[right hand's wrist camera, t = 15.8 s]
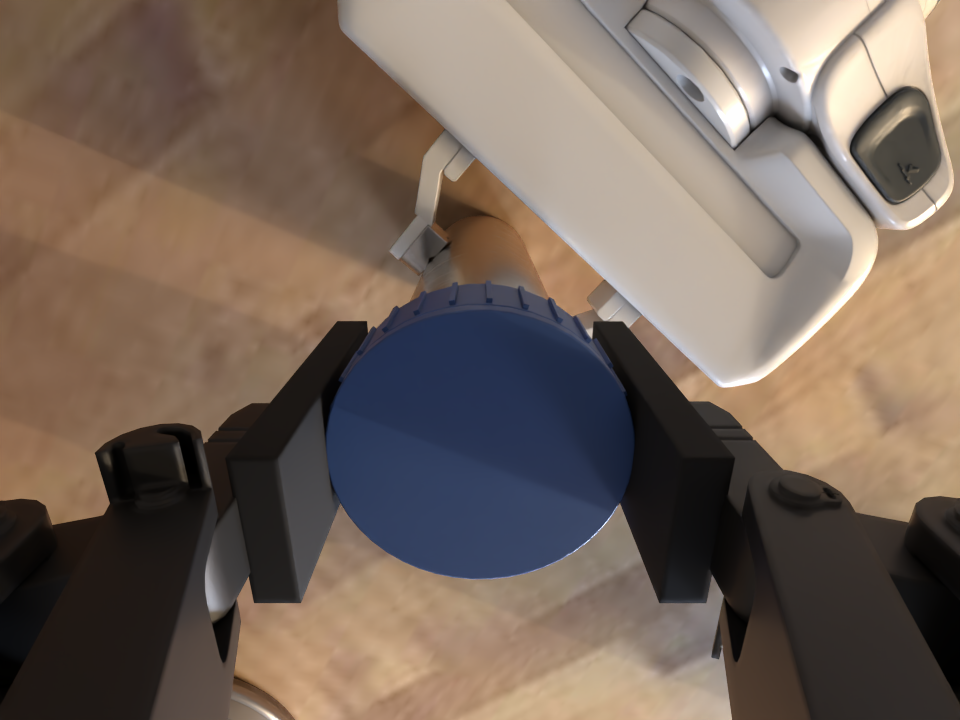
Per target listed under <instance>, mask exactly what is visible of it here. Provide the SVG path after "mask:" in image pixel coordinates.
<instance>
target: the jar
mask: <svg viewBox="0 0 960 720" xmlns="http://www.w3.org/2000/svg"><path fill="white" fill-rule="evenodd" d="M445 232H446V233H447V234H449V235H450V237H449V239H448V243H447V244H446V245H445V246H444V247H443V249H442V250H441V251H440V252H439V253H438V254H437V255H436V256H435V257H431V259H430V262H429V264H428V265H427V267H426V268H425V270H424V272H423V274H422V276H421V278H420V280H419V282H418V285H417V287H416V289H415V291H414V293H413V295H412V298H411V300H410V302H411V301H412V300H414V299H416V298H418V297H419V296H420V293H421V292H423V291H426V293H427V294H428V293H430V292H432V291H436V290H439V289H443V288H447V287H450V286H452V283H454V282H458V285H465V284H486V280H489V281H491V284H495V285H503V286H509V287H513V288H517V289H518V286H519V285H520V286H523V287H524V289H525V291H528V292H530V293H533V294H535V295H538V296H540V297H543V298H544V299H546V300H548V299H549V297H548V295H547V293H546V290H545V288H544V286H543V284H542V282H541V280H540V277H539V275H538V273H537V271H536V269H535V267H534V264H533V262H532V260H531V258H530V256H529V254H528V251H527V249H526V247H525V245H524V243H523V241H522V239H521V237H520V236H519V235H518V233H517V232H516V231H515V230H514V229H513V228H512V227H511V226H510V225H508V224H507V223H505V222H504V221H502V220H500V219H497V218H494V217H490V216H484V215H476V216H470V217H466V218H463V219H461V220H459V221H457V222H455V223H453V224H452V225H451V226H450V227H448V228H447V229H446V230H445Z"/></svg>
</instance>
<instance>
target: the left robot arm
mask: <svg viewBox="0 0 960 720" xmlns="http://www.w3.org/2000/svg"><path fill="white" fill-rule="evenodd" d="M940 1H941V0H337V6H338V21H339V26H340V29H341V30H342V32H343V33H344V34H345V35H347V36H348V37H349V38H350V39H351V40H352V41H353V42H354V43H355V44H356V45H357V46H358V47H359V48H360V49H361V50H362V51H363V52H364V53H365V54H367V55H368V56H369V57H370V58H371V59H372V60H373V61H374V62H375V63H376V64H377V65H378V66H379V67H380V68H381V69H382V70H383V71H385V72H386V73H387V74H388V75H389V76H390V77H391V78H392V79H393V80H394V81H395V82H396V83H397V84H398V85H399V86H400V87H401V88H403V89H404V90H405V91H406V92H407V93H408V94H409V95H410V96H411V97H412V98H413V99H414V100H415V101H416V102H417V103H419V104H420V105H421V106H422V107H423V108H424V109H425V110H426V111H427V112H428V113H429V114H430V115H431V116H432V117H433V118H434V119H435V120H437V121H438V122H439V123H440V124H441V125H442V126H443V127H444V128H445V130H444V131H443V132H442V133H441V135H440V136H439V137H438V138H437V140H436V141H435V142H434V144H433V145H432V146H431V147H430V149H429V150H428V151H427V152H426V154H425V155H424V156H423V162H422V169H421V175H420V182H419V188H418V195H417V201H416V208H415V214H416V215H417V216H416V218H415V219H414V220H413V221H412V222H411V224H410V225H409V226H408V227H407V229H406V230H405V231H404V232H403V233H402V235H401V236H400V237H399V238H398V240H397V241H396V242H395V243H394V244H393V246H392V247H391V248H390V250H389V252H390V253H391V254H392V255H393V256H395V257H396V258H397V259H398V260H400V261H401V262H402V263H403V264H405V265H406V266H407V267H408V268H409V269H411V270H412V271H413V272H414V273H416V274H417V275H418V276H419V275H420V274H421V273H422V272H423V271H424V270H425V268H426V267H427V265H428V264H429V262H430V259H431V257H435V256H436V255H437V254H438V253H439V252H440V251H441V250H442V249H443V247H444V246H445V245H446V244H447V243H448V239H449V237H450V235H449V234H447V233H446V232H445V231H444V230H443V229H442V228H441V227H440V226H439V225H438V224H437V223H436V222H435V219H436V213H437V208H438V202H439V197H440V191H441V186H442V180H443V175H445V176H446V177H447V178H449V179H450V180H451V181H457V179H458V178H459V177H460V176H461V175H462V174H463V172H464V171H465V170H466V169H467V168H468V167H469V165H470V164H471V163H472V162H473V161H474V159H475V158H477V159H478V160H479V161H480V162H481V163H482V164H483V165H484V166H485V167H486V168H487V169H488V170H490V171H491V172H492V173H493V174H494V175H495V176H496V177H497V178H498V179H499V180H500V181H501V182H502V183H503V184H504V185H505V186H506V187H508V188H509V189H510V190H511V191H512V192H513V193H514V194H515V195H516V196H517V197H518V198H519V199H520V200H521V201H522V202H523V203H525V204H526V205H527V206H528V207H529V208H530V209H531V210H532V211H533V212H534V213H535V214H536V215H537V216H538V217H539V218H540V219H541V220H543V221H544V222H545V223H546V224H547V225H548V226H549V227H550V228H551V229H552V230H553V231H554V232H555V233H556V234H557V235H558V236H559V237H561V238H562V239H563V240H564V241H565V242H566V243H567V244H568V245H569V246H570V247H571V248H572V249H573V250H574V251H575V252H576V253H577V254H579V255H580V256H581V257H582V258H583V259H584V260H585V261H586V262H587V263H588V264H589V265H590V266H591V267H592V268H593V269H594V270H595V271H597V272H598V273H599V274H600V275H601V276H602V277H603V278H604V280H603V281H602V283H601V284H600V285H599V286H598V287H597V288H596V289H595V290H594V291H593V292H592V293H591V294H590V295H589V296H588V298H587V301H588V302H589V304H590V305H591V306H592V308H593V310H590V311H587V312H584V313H581V314H578V315H575V316H577V317H578V318H579V319H580V321H581V322H582V324H583V326H584V328H585V329H586V331H587V333H588V334H589V336H590V337H591V338H592V333H593V321H623V322H624V323H625V324H626V326H627V327H628V328H629V327H630V326H631V325H632V324H633V323H634V322H635V321H636V320H637V319H638V318H639V317H640V316H641V315H643V316H644V317H645V318H646V319H647V320H648V321H650V322H651V323H652V324H653V325H654V326H655V327H656V328H657V329H658V330H659V331H660V332H661V333H662V334H663V335H664V336H665V337H666V338H667V339H669V340H670V341H671V342H672V343H673V344H674V345H675V346H676V347H677V348H678V349H679V350H680V351H681V352H682V353H683V354H684V355H686V356H687V357H688V358H689V359H690V360H691V361H692V362H693V363H694V364H695V365H696V366H697V367H698V368H699V369H700V370H701V371H702V372H704V373H705V374H706V375H707V376H708V377H709V378H710V379H711V380H712V381H713V382H714V383H715V384H716V385H718V386H719V387H724V388H725V387H734V386H740V385H745V384H750V383H754V382H756V381H759V380H760V379H762V378H763V377H765V376H766V375H768V374H769V373H770V372H772V371H773V370H774V369H775V368H777V367H778V366H779V365H780V364H781V363H783V362H784V361H785V360H786V359H787V358H788V357H790V356H791V355H792V354H793V353H794V352H795V351H796V350H797V349H799V348H800V347H801V346H802V345H803V344H804V343H805V342H806V341H807V340H808V339H810V338H811V337H812V336H813V335H814V334H815V333H816V332H817V331H818V330H819V329H820V328H821V327H822V326H823V325H824V324H825V323H826V322H827V321H828V320H829V319H830V318H831V317H832V316H833V315H834V314H835V313H836V312H837V311H838V310H839V309H840V308H841V307H842V306H843V305H844V304H845V303H846V302H847V301H848V300H849V299H850V298H851V297H852V296H853V294H854V293H855V292H856V291H857V290H858V289H859V287H860V286H861V285H862V283H863V282H864V280H865V279H866V277H867V276H868V274H869V272H870V270H871V268H872V266H873V264H874V261H875V258H876V255H877V250H878V235H877V231H876V228H882V229H894V230H907V229H911V228H913V227H915V226H917V225H919V224H920V223H922V222H923V221H925V220H926V219H927V218H929V217H930V216H931V215H932V214H933V213H935V211H937V210H938V209H939V208H940V207H941V206H942V205H943V204H944V203H945V202H946V200H947V199H948V198H949V196H950V194H951V192H952V189H953V184H954V176H953V170H952V165H951V160H950V157H949V153H948V149H947V145H946V142H945V138H944V134H943V130H942V126H941V122H940V117H939V113H938V108H937V104H936V99H935V94H934V89H933V83H932V78H931V71H930V64H929V57H928V47H927V36H926V25H925V18H926V17H927V16H929V15H930V13H931V12H932V11H933V10H934V9H935V7H936V6H937V5H938V3H939V2H940ZM572 317H574V316H572Z"/></svg>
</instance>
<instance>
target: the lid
mask: <svg viewBox="0 0 960 720" xmlns="http://www.w3.org/2000/svg"><path fill="white" fill-rule="evenodd" d="M612 367H613V364H612V363H611V361H610V359H609V358H608V356H607V355H606V353H605V351H604V350H603V348H602V346H601V345H600V343H599V341H598V340H597V338H595V339H594V340H592V338H591V337H590V336H589V334H588V333H587V331H586V329H585V328H584V326H583V324H582V322H581V321H580V319H579V318H578V317H577V316H574V317H572V316H570V315H569V314H568V313H566V312H565V311H564V310H562V309H561V308H560V307H558V306H557V305H556V303H555V301H554V299H552V298H550V297H549V299H548V300H546V299H544V298H543V297H540V296H538V295H535V294H533V293H530V292H528V291H525V289H524V287H523V286H520V285H519V286H518V289H517V288H513V287H509V286H503V285H495V284H491V281H489V280H486V284H465V285H458V282H454V283H452V286H450V287H447V288H443V289H439V290H436V291H432V292H430V293H428V294H427V293H426V291H423V292H421V293H420V296H419V297H418V298H416V299H414V300H412V301H411V302H409V303H407V304H405V305H404V306H402V307H400V308H398V306H396V307H394V308H393V309H392V311H391V313H390V315H389V317H388V318H386V319H385V320H384V321H383V322H382V323H381V324H380V326H379V327H378V328H377V329H376V328H375V327H374V326H373V327H372V328H371V330H370V331H369V333H368V335H367V336H366V338H365V340H364V341H363V343H362V344H361V346H360V348H359V349H358V351H356V352H355V354H354V355H353V357H352V359H351V360H350V362H349V364H348V365H347V367H346V368H345V370H344V372H343V373H342V375H341V377H340V379H339V381H340V382H342V384H341V386H340V387H339V389H338V391H337V393H336V395H335V397H334V400H333V402H332V403H331V405H330V407H329V410H330V412H329V415H328V421H327V427H326V432H325V441H326V452H327V460H328V468H329V475H330V479H331V482H332V486H333V488H334V490H335V492H336V495H337V497H338V499H339V501H340V503H341V504H342V506H343V508H344V509H345V511H346V512H347V514H348V516H349V517H350V518H351V519H352V521H353V522H354V523H355V524H356V525H357V527H358V528H359V529H360V530H361V531H362V532H363V533H364V534H365V535H366V536H367V537H368V538H369V539H370V540H371V541H372V542H374V543H375V544H376V545H378V546H379V547H381V548H382V549H383V550H385V551H386V552H387V553H389V554H391V555H393V556H394V557H396V558H398V559H400V560H401V561H403V562H405V563H408V564H410V565H412V566H415V567H417V568H419V569H423V570H426V571H429V572H432V573H435V574H440V575H445V576H450V577H455V578H465V579H495V578H505V577H511V576H516V575H520V574H525V573H529V572H532V571H535V570H538V569H541V568H544V567H546V566H548V565H550V564H553V563H555V562H557V561H559V560H561V559H563V558H564V557H566V556H568V555H569V554H571V553H573V552H574V551H576V550H577V549H579V548H580V547H581V546H582V545H584V544H585V543H586V542H588V541H589V540H590V539H591V538H592V537H593V536H594V535H595V534H596V533H597V532H598V531H599V530H600V529H601V528H602V527H603V526H604V525H605V524H606V522H607V521H608V520H609V518H610V517H611V516H612V515H613V513H614V512H615V510H616V508H617V506H618V505H619V503H620V501H621V500H622V498H623V495H624V493H625V491H626V488H627V486H628V483H629V480H630V476H631V471H632V464H633V455H634V446H635V431H634V425H633V420H632V415H631V411H630V408H629V406H628V403H627V400H626V397H625V396H627V392H626V390H625V389H624V387H623V385H622V384H621V382H620V380H619V379H618V377H617V375H616V374H615V372H614V370H613V368H612Z"/></svg>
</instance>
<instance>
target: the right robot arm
mask: <svg viewBox="0 0 960 720" xmlns="http://www.w3.org/2000/svg"><path fill="white" fill-rule="evenodd" d="M367 335H368V328H367V321H337V322H336V324H335V325H334V326H333V327H332V329H331V330H330V331H329V332H328V333H327V335H326V336H325V337H324V338H323V339H322V341H321V342H320V343H319V344H318V346H317V347H316V348H315V349H314V350H313V352H312V353H311V354H310V355H309V356H308V358H307V359H306V360H305V361H304V363H303V364H302V365H301V366H300V367H299V369H298V370H297V371H296V372H295V373H294V375H293V376H292V377H291V378H290V380H289V381H288V382H287V383H286V384H285V386H284V387H283V388H282V389H281V390H280V392H279V393H278V394H277V395H276V397H275V398H274V399H273V400H272V401H271V403H252V404H250V405H248V406H246V407H244V408H243V409H241V410H239V411H237V412H235V413H234V414H232V415H230V417H229V418H228V419H227V420H226V421H225V422H224V423H223V424H222V425H221V426H220V427H219V430H218V431H216V432H215V433H214V434H213V435H212V436H211V437H210V438H209V439H208V442H205V443H204V444H203V440H202V435H201V431H200V430H198V429H197V428H195V427H194V426H192V425H186V424H180V423H174V424H159V425H154V426H149V427H143V428H139V429H136V430H134V431H131V432H128V433H125V434H122V435H120V436H118V437H116V438H114V439H112V440H111V441H109V442H107V443H105V444H104V445H103V446H102V447H101V448H100V449H99V450H98V451H97V452H95V455H96V458H97V462H98V465H99V468H100V471H101V475H102V478H103V481H104V485H105V488H106V491H107V495H108V498H109V501H110V505H109V507H108V508H107V510H106V512H105V514H104V515H103V516H98V517H93V518H88V519H82V520H77V521H72V522H66V523H61V524H56V525H52V523H51V520H50V517H49V515H48V512H47V509H46V506H45V505H43V504H42V503H40V502H39V501H37V500H29V499H15V500H7V501H0V720H295V719H294V718H293V717H292V715H291V714H290V713H289V712H288V711H287V710H286V709H285V708H284V707H283V706H282V705H281V704H280V703H279V702H278V701H276V700H275V699H274V698H273V697H271V696H270V695H268V694H267V693H265V692H264V691H262V690H260V689H258V688H256V687H254V686H252V685H250V684H248V683H246V682H243V681H241V680H238V679H235V678H233V677H234V670H235V662H236V655H237V647H238V640H239V632H240V625H241V619H240V612H239V607H238V603H237V597H238V595H239V593H240V591H241V589H242V587H243V585H244V584H245V582H246V580H247V578H248V576H249V580H250V585H251V590H252V595H253V600H254V603H301V601H302V599H303V596H304V594H305V591H306V589H307V586H308V583H309V581H310V578H311V576H312V573H313V571H314V568H315V566H316V563H317V561H318V558H319V556H320V553H321V550H322V548H323V545H324V543H325V540H326V538H327V535H328V533H329V530H330V528H331V525H332V523H333V520H334V517H335V515H336V512H337V510H338V507H339V505H340V501H339V499H338V497H337V495H336V492H335V490H334V488H333V486H332V482H331V479H330V475H329V468H328V460H327V452H326V441H325V432H326V427H327V421H328V415H329V412H330V410H329V407H330V405H331V403H332V402H333V400H334V397H335V395H336V393H337V391H338V389H339V387H340V386H341V384H342V382H340V381H339V379H340V377H341V375H342V373H343V372H344V370H345V368H346V367H347V365H348V364H349V362H350V360H351V359H352V357H353V355H354V354H355V352H356V351H358V349H359V348H360V346H361V344H362V343H363V341H364V340H365V338H366V336H367ZM595 338H597V340H598V341H599V343H600V345H601V346H602V348H603V350H604V351H605V353H606V355H607V356H608V358H609V359H610V361H611V363H612V364H613V367H612V368H613V370H614V372H615V374H616V375H617V377H618V379H619V380H620V382H621V384H622V385H623V387H624V389H625V390H626V392H627V396H625V397H626V400H627V403H628V406H629V408H630V411H631V415H632V420H633V425H634V431H635V446H634V455H633V464H632V471H631V476H630V480H629V483H628V486H627V488H626V491H625V493H624V495H623V498H622V500H621V501H620V504H621V506H622V509H623V512H624V514H625V517H626V519H627V522H628V524H629V527H630V529H631V532H632V534H633V537H634V539H635V542H636V545H637V547H638V550H639V552H640V555H641V557H642V560H643V562H644V565H645V567H646V570H647V572H648V575H649V578H650V580H651V583H652V585H653V588H654V590H655V593H656V595H657V598H658V600H659V603H706V601H707V596H708V592H709V587H710V582H711V577H712V575H713V577H714V578H715V580H716V582H717V584H718V586H719V588H720V589H721V591H722V593H723V595H724V598H723V603H722V607H721V612H720V617H719V621H718V626H717V630H716V635H715V640H714V644H713V650H712V658H716V659H719V657H720V652H721V648H722V647H723V653H724V661H725V668H726V676H727V683H728V691H729V698H730V706H731V714H732V720H960V498H950V497H942V496H938V497H927V498H923V499H922V500H920V501H919V502H917V503H916V505H915V507H914V510H913V513H912V516H911V519H910V522H909V523H907V522H902V521H897V520H891V519H886V518H881V517H875V516H870V515H864V514H860V513H856V512H855V511H854V509H853V507H852V506H851V504H850V502H849V501H848V500H847V499H846V498H845V497H844V495H843V494H842V493H841V492H840V491H838V490H836V489H835V488H833V487H832V486H830V485H829V484H827V483H826V482H823V481H821V480H818V479H816V478H813V477H811V476H809V475H805V474H801V473H797V472H792V471H788V470H783V469H782V468H781V467H780V466H779V465H778V464H777V463H776V462H775V461H774V460H773V459H772V457H771V456H770V455H769V454H768V453H767V452H766V451H765V450H764V449H763V448H762V447H761V446H760V445H759V444H758V443H757V442H756V440H753V437H752V436H751V435H750V434H749V433H748V432H747V431H746V430H745V429H742V426H741V425H740V423H739V422H738V421H737V420H736V419H735V418H734V417H733V416H732V415H731V414H730V413H729V412H727V411H725V410H723V409H721V408H720V407H718V406H716V405H714V404H712V403H711V402H689V401H688V400H687V399H686V397H685V396H684V395H683V394H682V392H681V391H680V390H679V389H678V388H677V386H676V385H675V384H674V383H673V382H672V380H671V379H670V378H669V377H668V375H667V374H666V373H665V372H664V371H663V369H662V368H661V367H660V366H659V365H658V363H657V362H656V361H655V360H654V358H653V357H652V356H651V355H650V354H649V352H648V351H647V350H646V349H645V348H644V346H643V345H642V344H641V343H640V341H639V340H638V339H637V338H636V337H635V335H634V334H633V333H632V332H631V331H630V329H629V328H628V327H627V326H626V324H625V323H624V322H623V321H593V333H592V340H594V339H595Z"/></svg>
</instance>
